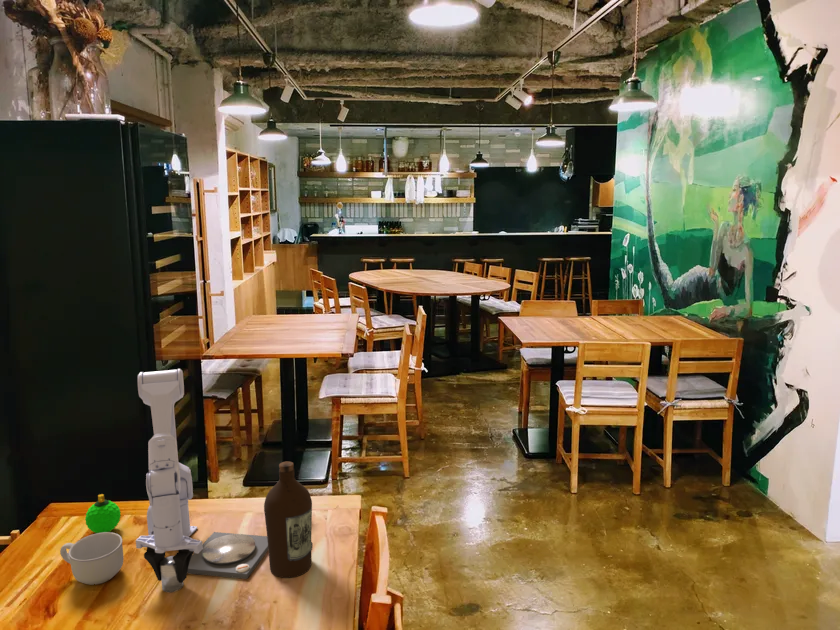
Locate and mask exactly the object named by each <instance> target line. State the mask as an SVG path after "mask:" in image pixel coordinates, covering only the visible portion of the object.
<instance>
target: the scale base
mask: <svg viewBox="0 0 840 630" xmlns="http://www.w3.org/2000/svg"><path fill="white" fill-rule="evenodd" d="M230 534H234V533H231V532H219V531H217V532H216V531H213V532H212V534H211V535H210V536H209V537H208V538H207V539H206V540H205V541H204V542H202V545H203V548H204V546H205V545H206V544H207V543H209V542H210V541H212V540H214V539H216V538H218V537H221V536H225V535H230ZM242 534H243V533H242ZM243 535H247V536H250V537H251V538H253V539H254V541H255V550H254V552H253V553H252V554H251V555H250V556H248V557H247V558H245V559H243V560H241V561H238V562H234V563H230V564H213V563H210V562H208V561H206V560H205V559H204V558H203V554H202V551H203V549H202V550H201V551H200V552H199V553H198V554H197V553H194V552H193V555H192V557H191V560H190V563H189V566H188V571H187V574H190V575H191V574H192V575H201V576H212V577H223V578H235V579H243V580H247V579H248V578H249V577H250V575H252V573H253V572H254V570H255V569H256V568H257V566H258V565H259V564H260V562H261V560H263V558H264V557H265V555H266V554H267V552H269V550H268V540H267V535H255V534H243Z"/></svg>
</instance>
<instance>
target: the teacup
mask: <svg viewBox="0 0 840 630" xmlns="http://www.w3.org/2000/svg"><path fill="white" fill-rule="evenodd" d="M67 549H68V551H67ZM59 550H60V551H59V553H60V556H61V558H62V559H63V560H64V561H65V562H66V563H68V564H70V566H71V567H70V568H71V572H72V576H73V577H74V578H75V580H76V581H77V582H80V583H82V584H86V585H91V586H93V585H94V584H95V585H101V584H104V583H105V582H108V581H109V580H111V579H113V577H114V576H116V575H117V574H118V573H119V571H121V568H122V567H123V566H124V565H123V564H124V548H123V537H122V536H121V535H120V534H118V533H117V532H116V533H115V532H111V531H110V532H103V533H94V534H93V533H92V534H90V535H87V536H84V537H83V538H80V539H78V541H75V543H72V542H66V543H64V544H63V545H62V546H61V547H60V549H59Z"/></svg>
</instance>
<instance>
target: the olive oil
mask: <svg viewBox="0 0 840 630" xmlns="http://www.w3.org/2000/svg"><path fill="white" fill-rule="evenodd" d="M278 467H279V469H278V476H279V479H278V481H277V482H276V484H275V485H273V487H271V488H270V490H269V491H268V492H267V494H266V496H265V499H264V504H263V512H264V513H263V514H264V519H265V529H266V531H265V532H266V536H267V540H268V559H269V570H270V573H272V574H273V575H274V576H277V577H279V578H285V579H287V578H295V577H298V576H301V575H304V574H305V573H306V572H308V571H309V570H310V568H311V567H312V560H313V558H312V551H313V541H312V527H313V526H312V514H313V501H312V498H311V497H312V496H311V494H310V492H309V490H308V489H307V488H306V487H305V485H303V484H302V483H301V482H299V481H298V480H296V478H295V468H294V462H292V461H290V460H289V461H283V462H282V461H281V462H280V463H279V464H278Z"/></svg>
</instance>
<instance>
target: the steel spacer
mask: <svg viewBox="0 0 840 630" xmlns="http://www.w3.org/2000/svg"><path fill="white" fill-rule="evenodd" d="M173 557H174V555H170V556H165V558H164V559H163V560H161V562H160V571H161V589H162V591H163V592H165V593H174V592H177V591H180V590H182V588H183V587H184V583H185V582H184V581H183V582H182V583H179V581H178V574H177V568H176V564H175V562H174V560H173Z"/></svg>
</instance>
